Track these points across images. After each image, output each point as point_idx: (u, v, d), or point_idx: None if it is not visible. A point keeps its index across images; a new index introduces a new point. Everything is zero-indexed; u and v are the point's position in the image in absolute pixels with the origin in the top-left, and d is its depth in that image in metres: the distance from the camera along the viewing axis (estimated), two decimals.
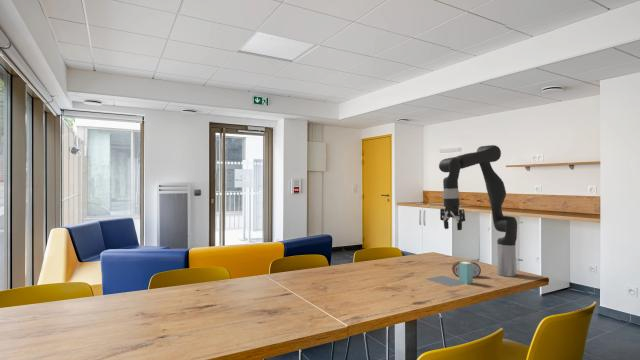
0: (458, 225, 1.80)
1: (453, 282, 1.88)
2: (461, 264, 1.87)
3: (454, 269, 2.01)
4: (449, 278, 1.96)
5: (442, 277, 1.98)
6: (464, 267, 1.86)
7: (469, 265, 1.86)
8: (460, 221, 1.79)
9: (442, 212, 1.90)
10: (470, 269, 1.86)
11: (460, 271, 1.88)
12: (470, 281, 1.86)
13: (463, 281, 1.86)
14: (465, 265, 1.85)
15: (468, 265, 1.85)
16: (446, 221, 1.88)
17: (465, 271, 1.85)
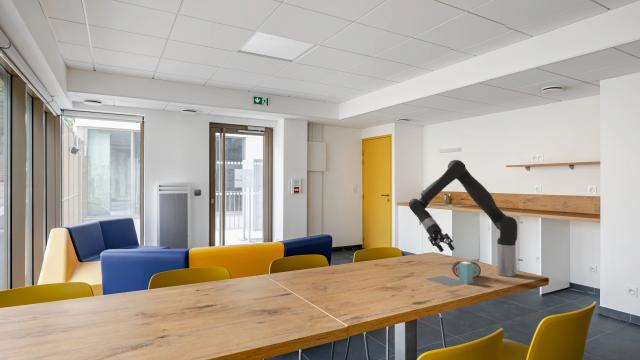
0: None
1: (453, 282, 1.88)
2: (461, 264, 1.87)
3: (454, 269, 2.01)
4: (449, 278, 1.96)
5: (442, 277, 1.98)
6: (464, 267, 1.86)
7: (469, 265, 1.86)
8: None
9: None
10: (470, 269, 1.86)
11: (460, 271, 1.88)
12: (470, 281, 1.86)
13: (463, 281, 1.86)
14: (465, 265, 1.85)
15: (468, 265, 1.85)
16: (448, 244, 2.02)
17: (465, 271, 1.85)
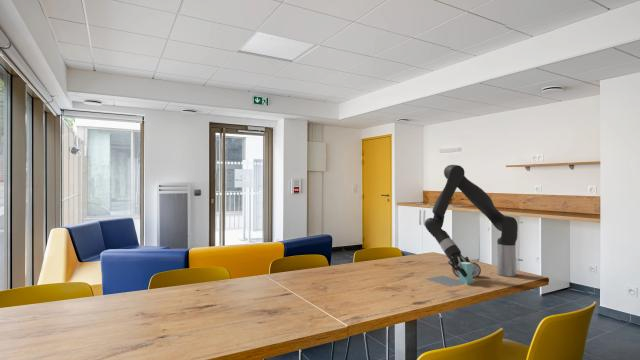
0: None
1: (453, 282, 1.88)
2: (461, 264, 1.87)
3: (454, 269, 2.01)
4: (449, 278, 1.96)
5: (442, 277, 1.98)
6: (464, 267, 1.86)
7: (469, 265, 1.86)
8: (458, 269, 1.87)
9: (465, 261, 1.94)
10: (470, 269, 1.86)
11: None
12: (470, 281, 1.86)
13: (463, 281, 1.86)
14: (465, 265, 1.85)
15: (468, 265, 1.85)
16: None
17: (465, 271, 1.85)
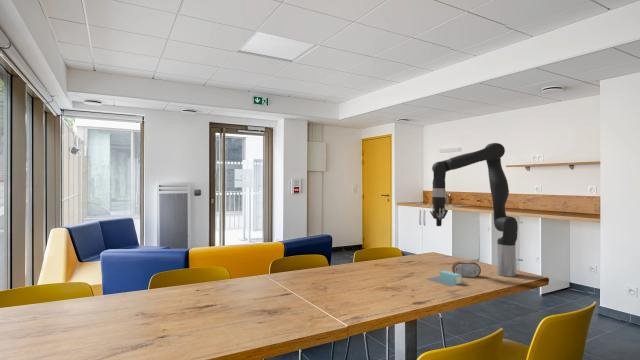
0: None
1: None
2: (454, 278, 1.84)
3: (454, 269, 2.01)
4: None
5: None
6: (452, 281, 1.85)
7: None
8: (435, 218, 2.10)
9: (443, 211, 2.14)
10: None
11: (448, 275, 1.87)
12: None
13: (441, 276, 1.91)
14: (454, 282, 1.84)
15: None
16: None
17: (449, 281, 1.86)
